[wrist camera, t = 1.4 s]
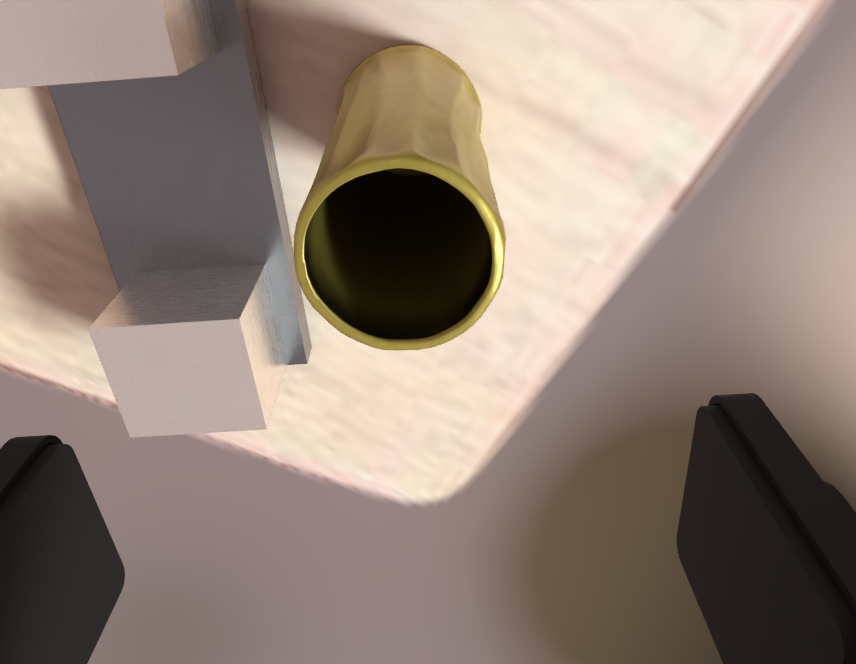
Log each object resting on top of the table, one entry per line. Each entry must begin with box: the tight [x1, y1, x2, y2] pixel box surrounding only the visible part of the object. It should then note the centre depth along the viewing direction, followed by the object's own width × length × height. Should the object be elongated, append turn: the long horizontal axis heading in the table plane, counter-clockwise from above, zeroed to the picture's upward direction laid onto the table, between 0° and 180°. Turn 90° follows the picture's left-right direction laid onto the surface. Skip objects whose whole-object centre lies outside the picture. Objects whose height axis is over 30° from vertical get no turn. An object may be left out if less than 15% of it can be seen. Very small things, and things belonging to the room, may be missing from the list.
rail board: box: [0, 0, 312, 437], centre depth 26 cm, size 20×8×6 cm, turn 4°
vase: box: [294, 45, 506, 350], centre depth 22 cm, size 6×6×14 cm
